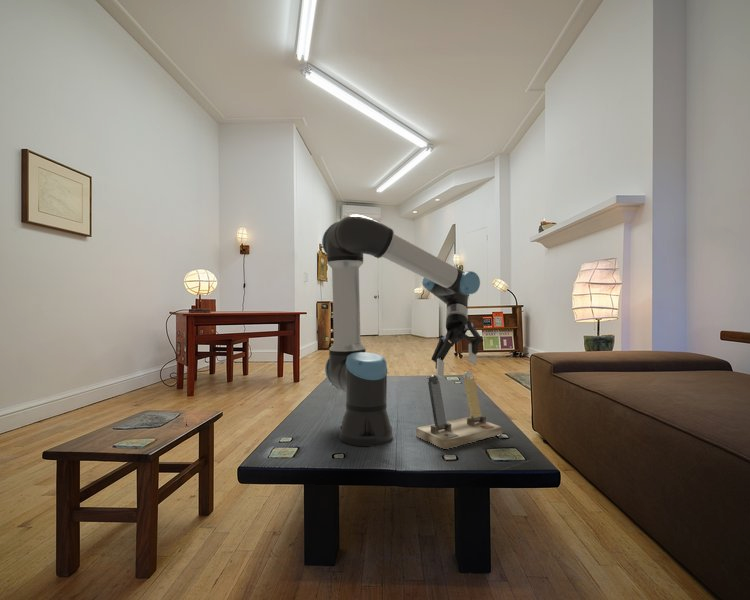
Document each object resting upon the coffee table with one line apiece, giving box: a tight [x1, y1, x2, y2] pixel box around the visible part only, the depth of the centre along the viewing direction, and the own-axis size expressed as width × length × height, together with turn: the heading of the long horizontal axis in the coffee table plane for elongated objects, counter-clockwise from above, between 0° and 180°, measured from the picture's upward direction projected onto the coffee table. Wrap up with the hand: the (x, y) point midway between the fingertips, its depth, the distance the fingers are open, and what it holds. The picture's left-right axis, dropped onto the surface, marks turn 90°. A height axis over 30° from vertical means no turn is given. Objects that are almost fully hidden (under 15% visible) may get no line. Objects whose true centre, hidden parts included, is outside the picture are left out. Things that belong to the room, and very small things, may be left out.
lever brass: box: [463, 370, 482, 422], centre depth 112 cm, size 3×3×15 cm
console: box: [415, 414, 503, 449], centre depth 107 cm, size 12×22×4 cm, turn 122°
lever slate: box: [427, 374, 447, 430], centre depth 105 cm, size 3×3×15 cm
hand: (455, 370), depth 118 cm, fingers open, 13 cm apart
